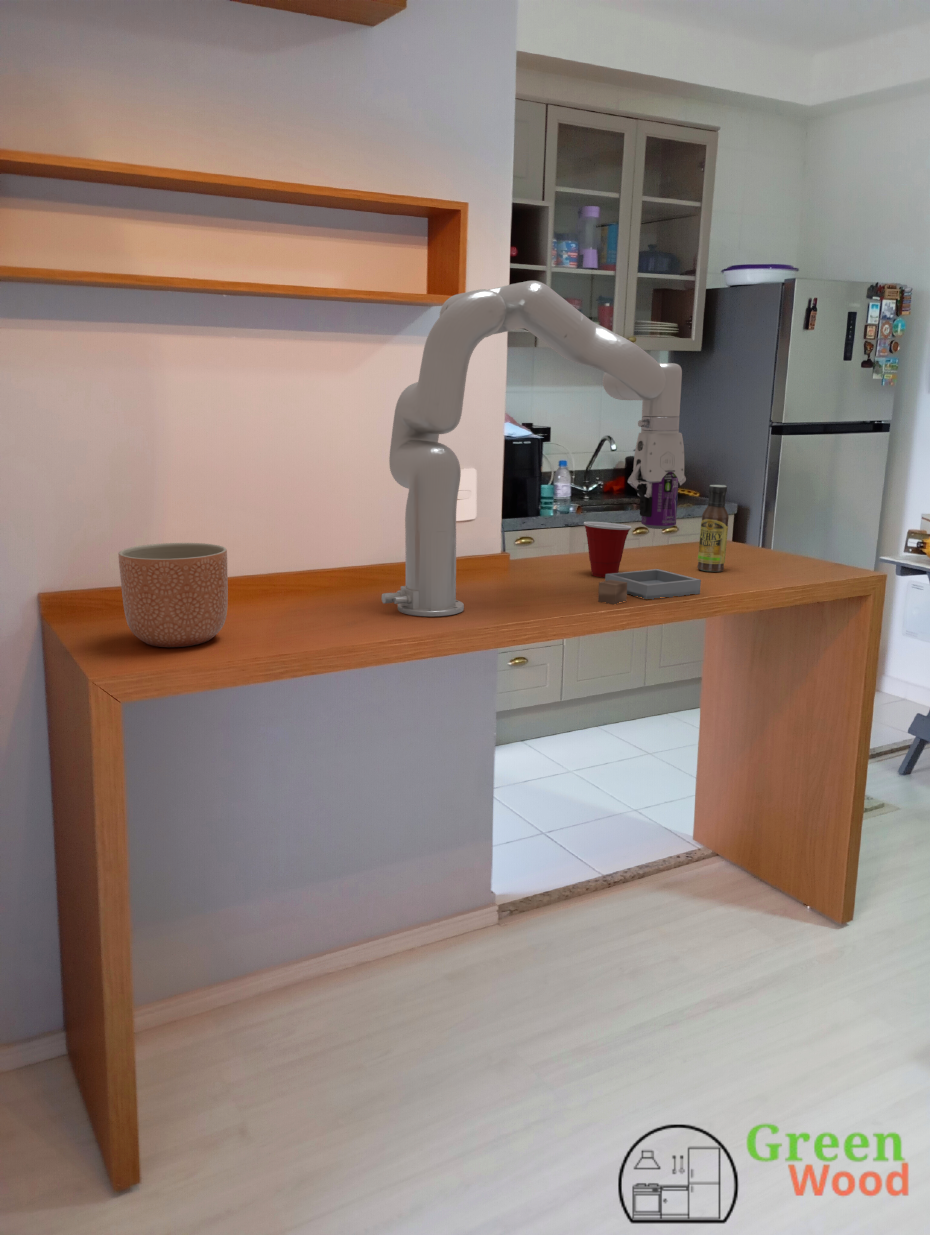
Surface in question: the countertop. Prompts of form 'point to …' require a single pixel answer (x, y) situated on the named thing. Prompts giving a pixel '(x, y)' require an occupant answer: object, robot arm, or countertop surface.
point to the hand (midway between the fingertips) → (655, 514)
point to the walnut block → (612, 591)
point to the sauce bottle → (713, 531)
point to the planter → (174, 592)
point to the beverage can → (663, 503)
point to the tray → (656, 583)
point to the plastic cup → (605, 546)
